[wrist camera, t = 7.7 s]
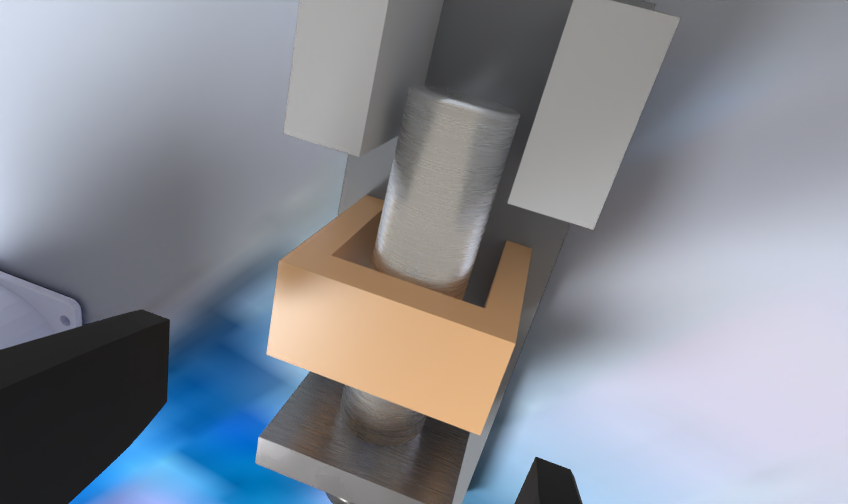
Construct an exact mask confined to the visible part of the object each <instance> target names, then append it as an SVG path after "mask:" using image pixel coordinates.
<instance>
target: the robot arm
mask: <svg viewBox="0 0 848 504" xmlns="http://www.w3.org/2000/svg"><path fill="white" fill-rule="evenodd" d="M169 325H170V320H169V319H166V318H163V317H161V316H158V315H155V314H153V313H150V312H147V311H145V310H138V311H134V312H129V313H125V314H122V315H118V316H114V317H111V318H107V319H104V320H100V321H97V322H93V323H90V324H86V325H83V326H82V315H81V307H80V305H79V304H78V303H77V302H76V301H75V300H74V299H72V298H69V297H67V296H64V295H61V294H59V293H56V292H54V291H51V290H48V289H46V288H43V287H41V286H38V285H35V284H33V283H30V282H27V281H25V280H22V279H20V278H17V277H14V276H12V275H9V274H7V273H4V272H1V271H0V504H68V503H69V502H71V501H72V500H73V499H74V498H75V497H76V496H77V495H78V494H79V493H80V492H81V491H82V490H84V489H85V488H86V487H87V486H88V485H89V484H90V483H91V482H92V481H93V480H94V479H95V478H96V477H97V476H99V475H100V474H101V473H102V472H103V471H104V470H105V469H106V468H107V467H108V466H109V465H110V464H111V463H112V462H113V461H114V460H116V459H117V458H118V457H119V456H120V455H121V454H122V453H123V452H124V451H125V450H126V449H127V448H128V447H129V446H130V445H131V444H132V443H133V441H134V440H135V439H136V438H137V437H138V436H139V435H140V433H141V432H142V431H143V430H144V429H145V428H146V427H147V425H148V424H149V423H150V422H151V421H152V419H153V418H154V417H155V416H156V414H157V413H158V412H159V411H160V410H161V408H162V407H163V406H164V405H165V403H166V402H167V385H168V355H169ZM515 504H582V500H581V497H580V494H579V491H578V488H577V485H576V481H575V478H574V476H573V474H572V472H571V470H570V469H567V468H565V467H562V466H559V465H557V464H554V463H551V462H549V461H546V460H543V459H541V458H538V457H535V460H534V462H533V464H532V466H531V468H530V471H529V473H528V475H527V477H526V479H525V482H524V484H523V486H522V488H521V491H520V493H519V495H518V497H517V499H516V502H515Z"/></svg>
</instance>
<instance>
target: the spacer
mask: <svg viewBox="0 0 848 504" xmlns="http://www.w3.org/2000/svg"><path fill="white" fill-rule="evenodd" d="M383 205H384V200H381V199H378V198H375V197H372V196H369V195H365V196H364V197H363V198H361V199H360V200H359V201H357V202H356V203H355V204H353V205H352V206H351V207H349V208H348V209H347V210H345V211H344V212H343V213H342V214H340V215H339V216H338V217H336V218H335V219H334V220H332V221H331V222H330V223H328V224H327V225H326V226H324V227H323V228H322V229H320V230H319V231H318V232H316V233H315V234H314V235H312V236H311V237H310V238H308V239H307V240H306V241H304V242H303V243H302V244H300V245H299V246H298V247H296V248H295V249H294V250H292V251H291V252H290V253H288V254H287V255H286V256H285V257H283V258H282V259H281V260H279V265H278V272H277V280H276V287H275V294H274V302H273V309H272V317H271V324H270V332H269V339H268V346H267V354H266V355H269V356H272V357H274V358H277V359H280V360H282V361H285V362H287V363H290V364H293V365H295V366H298V367H301V368H303V369H306V370H309V371H311V372H314V373H316V374H319V375H322V376H324V377H327V378H330V379H332V380H335V381H337V382H340V383H343V384H345V385H348V386H351V387H353V388H356V389H359V390H361V391H364V392H366V393H369V394H372V395H374V396H377V397H380V398H382V399H385V400H387V401H390V402H393V403H395V404H398V405H401V406H403V407H406V408H409V409H411V410H414V411H416V412H419V413H422V414H424V415H427V416H430V417H432V418H435V419H438V420H440V421H443V422H445V423H448V424H451V425H453V426H456V427H459V428H461V429H464V430H466V431H469V432H472V433H474V434H477V435H481V432H482V430H483V427H484V425H485V422H486V419H487V417H488V414H489V412H490V409H491V406H492V404H493V401H494V399H495V396H496V393H497V391H498V388H499V386H500V383H501V380H502V378H503V375H504V373H505V370H506V367H507V365H508V362H509V360H510V357H511V354H512V352H513V349H514V347H515V344H516V339H517V333H518V327H519V321H520V315H521V310H522V304H523V298H524V292H525V287H526V281H527V275H528V269H529V263H530V258H531V252H532V248H529V247H526V246H523V245H520V244H516V243H513V242H510V241H507V240H506V243H505V246H504V249H503V252H502V255H501V258H500V261H499V264H498V267H497V270H496V273H495V276H494V279H493V282H492V285H491V288H490V290H489V293H488V296H487V299H486V302H485V305H484V308H482V307H479V306H476V305H473V304H471V303H468V302H465V301H462V300H459V299H456V298H453V297H450V296H447V295H444V294H442V293H439V292H436V291H433V290H430V289H427V288H424V287H421V286H418V285H416V284H413V283H410V282H407V281H404V280H401V279H398V278H395V277H392V276H389V275H387V274H384V273H381V272H378V271H375V270H372V269H370V265H371V261H372V256H373V252H374V247H375V242H376V238H377V233H378V229H379V224H380V219H381V215H382V210H383Z"/></svg>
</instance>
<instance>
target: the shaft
mask: <svg viewBox="0 0 848 504" xmlns="http://www.w3.org/2000/svg"><path fill="white" fill-rule="evenodd" d="M519 118H520V114H519V113H518V112H517V111H515V110H513V109H512V108H509V107H507V106H505V105H502V104H500V103H497V102H495V101H492V100H489V99H486V98H482V97H479V96H476V95H472V94H469V93H465V92H461V91H457V90H452V89H448V88H443V87H437V86H431V85H421V84H414V85H410V86H409V90H408V95H407V99H406V104H405V109H404V113H403V118H402V122H401V127H400V132H399V136H398V141H397V146H396V150H395V155H394V159H393V164H392V169H391V173H390V178H389V182H388V187H387V192H386V196H385V201H384V205H383V210H382V215H381V219H380V224H379V229H378V233H377V238H376V242H375V247H374V252H373V256H372V261H371V265H370V269H372V270H375V271H378V272H381V273H384V274H387V275H389V276H392V277H395V278H398V279H401V280H404V281H407V282H410V283H413V284H416V285H418V286H421V287H424V288H427V289H430V290H433V291H436V292H439V293H442V294H444V295H447V296H450V297H453V298H456V299H459V300H462V301H463V297H464V294H465V291H466V288H467V285H468V281H469V278H470V275H471V272H472V269H473V265H474V262H475V259H476V256H477V253H478V249H479V246H480V243H481V240H482V237H483V233H484V230H485V227H486V224H487V221H488V218H489V214H490V211H491V208H492V205H493V202H494V198H495V195H496V192H497V189H498V186H499V182H500V179H501V176H502V173H503V170H504V166H505V163H506V160H507V157H508V154H509V150H510V147H511V144H512V141H513V138H514V134H515V131H516V128H517V125H518V122H519ZM469 435H470V432H469V431H466V430H464V429H461V428H459V427H456V426H453V425H451V424H448V423H445V422H443V421H440V420H438V419H435V418H432V417H430V416H427V415H424V414H422V413H419V412H416V411H414V410H411V409H409V408H406V407H403V406H401V405H398V404H395V403H393V402H390V401H387V400H385V399H382V398H380V397H377V396H374V395H372V394H369V393H366V392H364V391H361V390H359V389H356V388H353V387H351V386H348V385H345V384H343V383H340V382H337V381H335V380H332V379H330V378H327V377H324V376H322V375H319V374H316V373H314V372H311V371H310V372H309V374H308V375H307V376H306V377H305V379H304V380H303V381H302V382H301V384H300V385H299V386H298V388H297V389H296V390H295V391H294V393H293V394H292V395H291V397H290V398H289V399H288V400H287V402H286V403H285V404H284V405H283V407H282V408H281V409H280V411H279V412H278V413H277V414H276V416H275V417H274V418H273V419H272V421H271V422H270V423H269V425H268V426H267V427H266V428H265V430H264V431H263V432H262V434H261V435H260V436H259V440H258V447H257V454H256V462H255V463H256V464H258V465H261V466H263V467H266V468H268V469H270V470H273V471H275V472H278V473H280V474H283V475H285V476H288V477H290V478H292V479H295V480H297V481H300V482H302V483H305V484H307V485H310V486H312V487H314V488H317V489H319V490H322V491H324V492H326V494H327V496H328V498H329V499H330V501H331V502H332V503H333V504H452V502H453V498H454V494H455V490H456V486H457V482H458V478H459V474H460V470H461V466H462V462H463V458H464V455H465V451H466V447H467V443H468V439H469Z"/></svg>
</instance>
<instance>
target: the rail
mask: <svg viewBox="0 0 848 504" xmlns="http://www.w3.org/2000/svg"><path fill="white" fill-rule="evenodd" d="M654 7H655V4H652V3H648V2H644V1H640V0H299V9H298V17H297V25H296V33H295V42H294V50H293V58H292V66H291V75H290V83H289V91H288V100H287V108H286V116H285V124H284V133H283V134H286V135H290V136H293V137H296V138H299V139H302V140H306V141H309V142H312V143H315V144H318V145H322V146H325V147H328V148H331V149H335V150H338V151H341V152H344V153H347V154H348V160H347V165H346V171H345V177H344V182H343V188H342V194H341V199H340V205H339V210H338V216H339V215H340V214H342V213H343V212H344V211H345V210H347V209H348V208H349V207H351V206H352V205H353V204H355V203H356V202H357V201H359V200H360V199H361V198H363V197H364V196H365V195H369V196H372V197H375V198H378V199H381V200H384V201H385V196H386V192H387V187H388V182H389V178H390V173H391V169H392V164H393V159H394V155H395V150H396V146H397V141H398V136H399V132H400V127H401V122H402V118H403V113H404V109H405V104H406V99H407V95H408V90H409V86H410V85H414V84H421V85H431V86H437V87H443V88H448V89H452V90H457V91H461V92H465V93H469V94H472V95H476V96H479V97H482V98H486V99H489V100H492V101H495V102H497V103H500V104H502V105H505V106H507V107H509V108H512V109H513V110H515V111H517V112H518V113H519V114H520V118H519V122H518V125H517V128H516V131H515V134H514V138H513V141H512V144H511V147H510V150H509V154H508V157H507V160H506V163H505V166H504V170H503V173H502V176H501V179H500V182H499V186H498V189H497V192H496V195H495V198H494V202H493V205H492V208H491V211H490V214H489V218H488V221H487V224H486V227H485V230H484V233H483V237H482V240H481V243H480V246H479V249H478V253H477V256H476V259H475V262H474V265H473V269H472V272H471V275H470V278H469V281H468V285H467V288H466V291H465V294H464V297H463V301H465V302H468V303H471V304H473V305H476V306H479V307H482V308H484V305H485V302H486V299H487V296H488V293H489V290H490V288H491V285H492V282H493V279H494V276H495V273H496V270H497V267H498V264H499V261H500V258H501V255H502V252H503V249H504V246H505V243H506V240H507V241H510V242H513V243H516V244H520V245H523V246H526V247H529V248H532V252H531V258H530V263H529V269H528V275H527V281H526V287H525V292H524V298H523V304H522V310H521V315H520V321H519V327H518V333H517V339H516V344H515V347H514V349H513V352H512V354H511V357H510V360H509V362H508V365H507V367H506V370H505V373H504V375H503V378H502V380H501V383H500V386H499V388H498V391H497V393H496V396H495V399H494V401H493V404H492V406H491V409H490V412H489V414H488V417H487V419H486V422H485V425H484V427H483V430H482V432H481V435H477V434H474V433H472V432H470V435H469V439H468V443H467V447H466V451H465V455H464V458H463V462H462V466H461V470H460V474H459V478H458V482H457V486H456V490H455V494H454V498H453V502H452V504H462V502H463V499H464V496H465V494H466V491H467V489H468V486H469V484H470V481H471V478H472V476H473V473H474V471H475V468H476V466H477V463H478V460H479V458H480V455H481V453H482V450H483V448H484V445H485V442H486V440H487V437H488V435H489V432H490V429H491V427H492V424H493V422H494V419H495V417H496V414H497V411H498V409H499V406H500V404H501V401H502V399H503V396H504V393H505V391H506V388H507V386H508V383H509V381H510V378H511V375H512V373H513V370H514V368H515V365H516V362H517V360H518V357H519V355H520V352H521V350H522V347H523V344H524V342H525V339H526V337H527V334H528V332H529V329H530V326H531V324H532V321H533V319H534V316H535V314H536V311H537V308H538V306H539V303H540V301H541V298H542V295H543V293H544V290H545V288H546V285H547V283H548V280H549V277H550V275H551V272H552V270H553V267H554V265H555V262H556V259H557V257H558V254H559V252H560V249H561V247H562V244H563V241H564V239H565V236H566V234H567V231H568V228H569V226H570V223H572V224H576V225H579V226H582V227H585V228H588V229H592V230H594V227H595V225H596V223H597V220H598V218H599V215H600V213H601V210H602V208H603V206H604V203H605V201H606V198H607V196H608V193H609V191H610V189H611V186H612V184H613V181H614V179H615V176H616V174H617V171H618V169H619V167H620V164H621V162H622V159H623V157H624V154H625V152H626V150H627V147H628V145H629V142H630V140H631V137H632V135H633V133H634V130H635V128H636V125H637V123H638V120H639V118H640V116H641V113H642V111H643V108H644V106H645V103H646V101H647V99H648V96H649V94H650V91H651V89H652V86H653V84H654V81H655V79H656V77H657V74H658V72H659V69H660V67H661V64H662V62H663V60H664V57H665V55H666V52H667V50H668V47H669V45H670V43H671V40H672V38H673V35H674V33H675V30H676V28H677V26H678V23H679V21H680V17H676V16H672V15H668V14H664V13H660V12H656V11H653V9H654ZM338 216H337V217H338Z"/></svg>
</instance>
